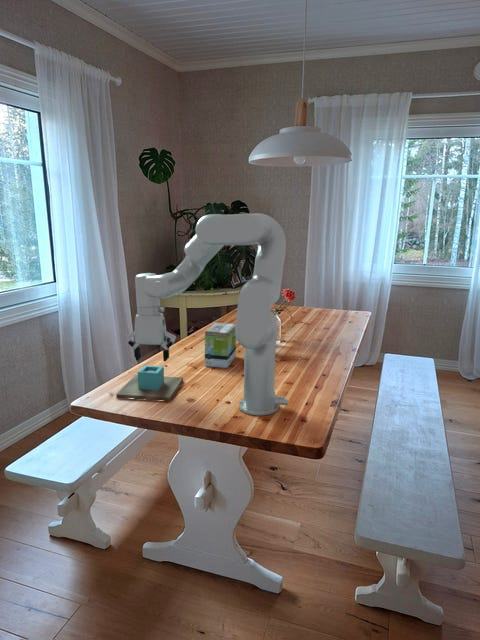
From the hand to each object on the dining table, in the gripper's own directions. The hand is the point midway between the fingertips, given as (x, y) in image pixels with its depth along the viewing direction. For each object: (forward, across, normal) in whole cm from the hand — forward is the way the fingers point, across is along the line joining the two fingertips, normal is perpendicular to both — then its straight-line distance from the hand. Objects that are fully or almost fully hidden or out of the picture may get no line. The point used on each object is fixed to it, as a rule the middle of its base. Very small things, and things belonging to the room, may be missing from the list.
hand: (152, 359), depth 153 cm
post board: (+11, +1, 0) cm, 11 cm away
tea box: (+12, -18, -33) cm, 40 cm away
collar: (+9, +1, 0) cm, 9 cm away
